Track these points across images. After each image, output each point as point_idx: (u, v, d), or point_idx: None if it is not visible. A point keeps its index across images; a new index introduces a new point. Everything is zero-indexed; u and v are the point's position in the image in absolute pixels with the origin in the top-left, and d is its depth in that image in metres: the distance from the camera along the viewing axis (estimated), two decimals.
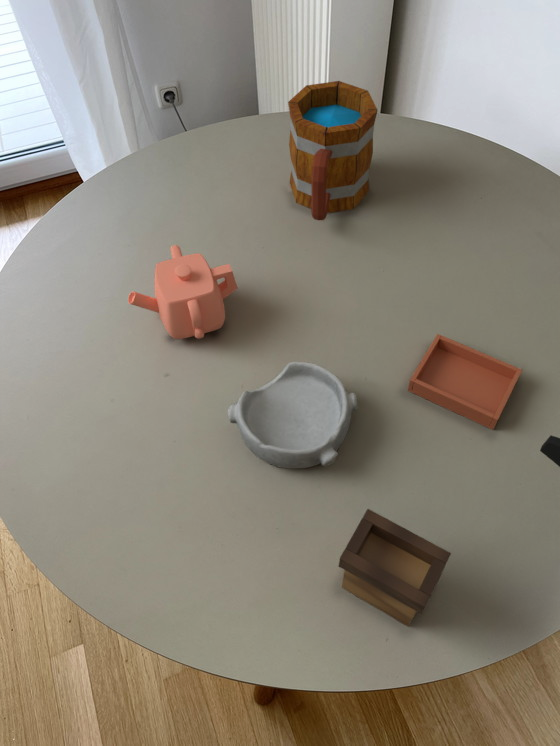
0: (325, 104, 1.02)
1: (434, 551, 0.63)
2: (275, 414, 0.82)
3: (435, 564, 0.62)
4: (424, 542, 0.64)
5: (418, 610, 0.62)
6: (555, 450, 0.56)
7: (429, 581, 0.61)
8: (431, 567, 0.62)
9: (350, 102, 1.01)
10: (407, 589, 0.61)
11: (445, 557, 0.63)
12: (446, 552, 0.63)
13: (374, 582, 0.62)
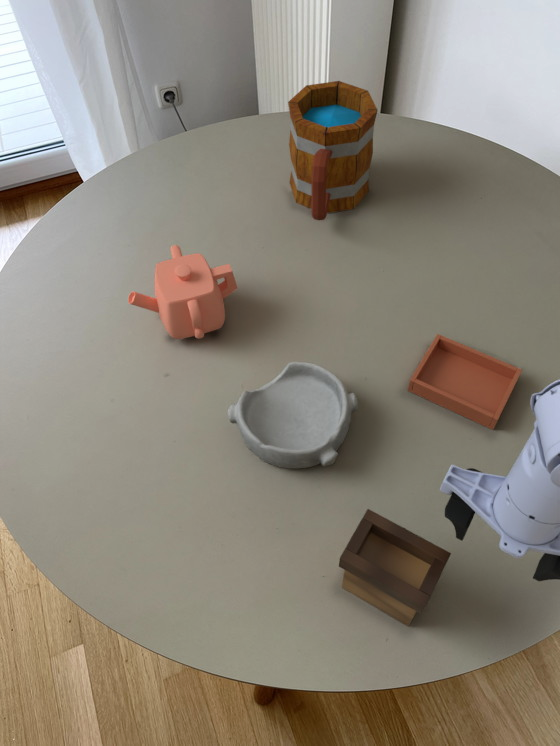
0: (325, 104, 1.02)
1: (434, 551, 0.63)
2: (275, 414, 0.82)
3: (435, 564, 0.62)
4: (424, 542, 0.64)
5: (418, 610, 0.62)
6: None
7: (429, 581, 0.61)
8: (431, 567, 0.62)
9: (350, 102, 1.01)
10: (407, 589, 0.61)
11: (445, 557, 0.63)
12: (446, 552, 0.63)
13: (374, 582, 0.62)
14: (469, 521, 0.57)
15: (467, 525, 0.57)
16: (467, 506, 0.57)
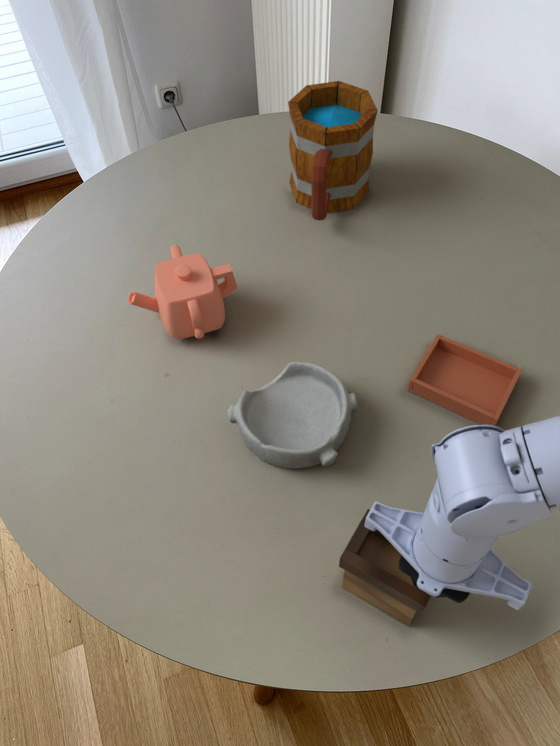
0: (325, 104, 1.02)
1: None
2: (275, 414, 0.82)
3: None
4: None
5: (418, 610, 0.62)
6: None
7: None
8: None
9: (350, 102, 1.01)
10: (407, 589, 0.61)
11: None
12: None
13: (374, 582, 0.62)
14: None
15: None
16: None
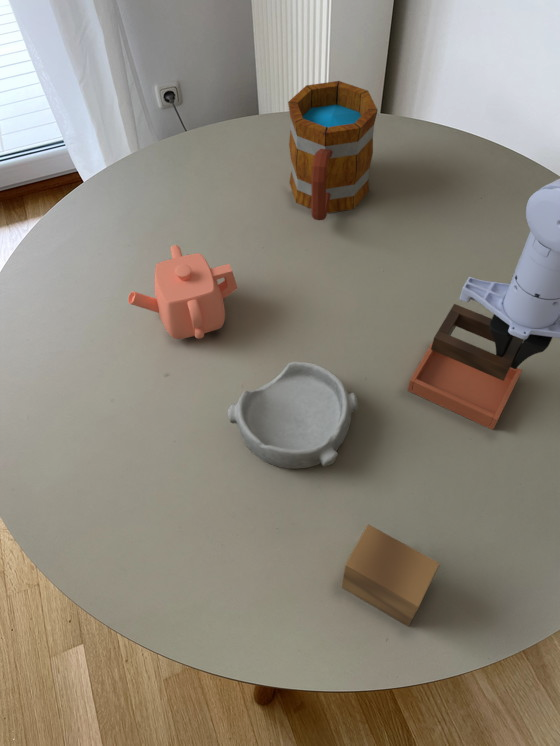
0: (325, 104, 1.02)
1: None
2: (275, 414, 0.82)
3: (514, 340, 0.75)
4: None
5: (501, 376, 0.74)
6: None
7: (510, 351, 0.74)
8: (511, 342, 0.75)
9: (350, 102, 1.01)
10: (492, 357, 0.73)
11: None
12: None
13: (463, 356, 0.75)
14: None
15: (508, 334, 0.69)
16: None
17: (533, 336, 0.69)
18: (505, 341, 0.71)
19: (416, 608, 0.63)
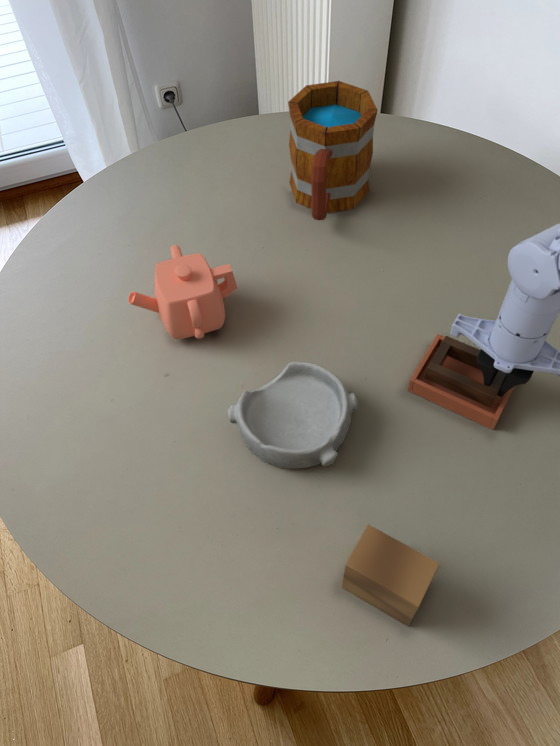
0: (325, 104, 1.02)
1: None
2: (275, 414, 0.82)
3: None
4: None
5: (488, 404, 0.81)
6: None
7: (497, 381, 0.80)
8: (498, 372, 0.81)
9: (350, 102, 1.01)
10: (480, 386, 0.80)
11: None
12: None
13: (454, 385, 0.82)
14: None
15: (494, 367, 0.76)
16: None
17: (517, 369, 0.75)
18: (491, 373, 0.78)
19: (416, 608, 0.63)
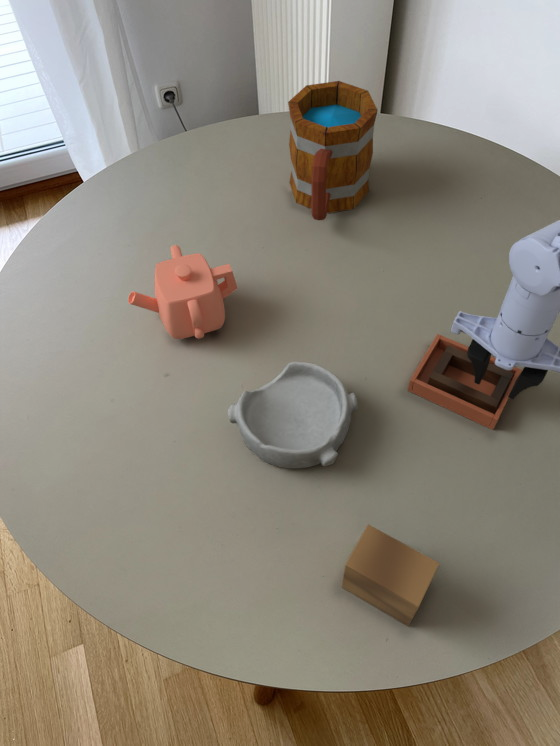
0: (325, 104, 1.02)
1: (500, 372, 0.83)
2: (275, 414, 0.82)
3: (502, 380, 0.83)
4: (492, 366, 0.84)
5: None
6: None
7: (498, 390, 0.82)
8: (499, 382, 0.82)
9: (350, 102, 1.01)
10: (482, 396, 0.81)
11: (509, 375, 0.83)
12: (510, 372, 0.83)
13: (456, 394, 0.83)
14: (486, 358, 0.76)
15: (484, 360, 0.76)
16: (484, 347, 0.77)
17: (529, 371, 0.74)
18: (482, 366, 0.78)
19: (416, 608, 0.63)
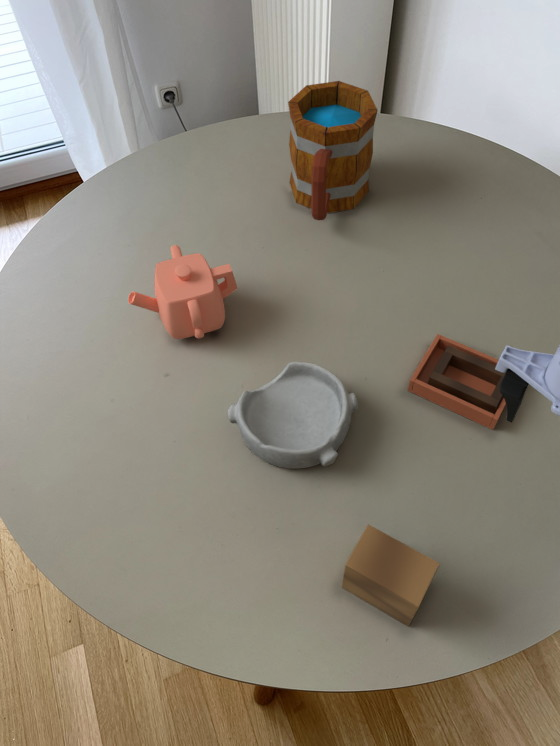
0: (325, 104, 1.02)
1: (500, 372, 0.83)
2: (275, 414, 0.82)
3: None
4: (492, 366, 0.84)
5: None
6: None
7: (498, 390, 0.82)
8: (499, 382, 0.82)
9: (350, 102, 1.01)
10: (482, 396, 0.81)
11: None
12: None
13: (456, 394, 0.83)
14: (522, 394, 0.65)
15: (520, 397, 0.64)
16: (520, 382, 0.65)
17: None
18: (517, 403, 0.66)
19: (416, 608, 0.63)
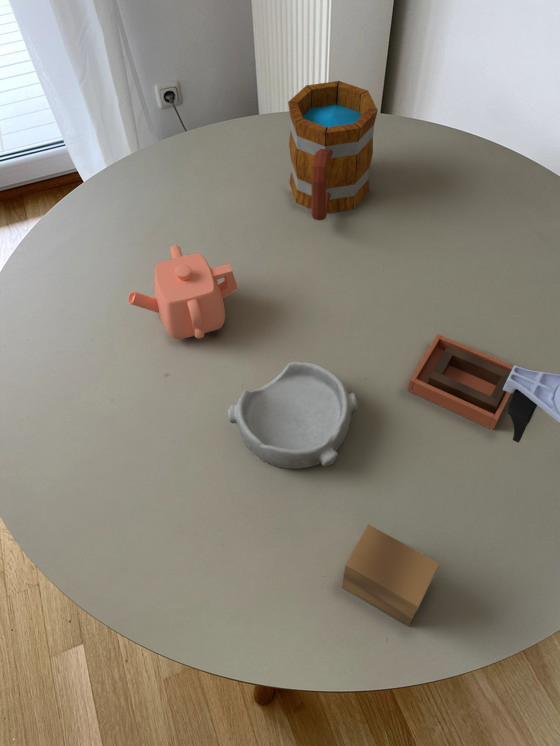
0: (325, 104, 1.02)
1: (500, 372, 0.83)
2: (275, 414, 0.82)
3: (502, 380, 0.83)
4: (492, 366, 0.84)
5: None
6: None
7: (498, 390, 0.82)
8: (499, 382, 0.82)
9: (350, 102, 1.01)
10: (482, 396, 0.81)
11: None
12: (510, 372, 0.83)
13: (456, 394, 0.83)
14: (530, 416, 0.63)
15: (529, 419, 0.63)
16: (528, 403, 0.63)
17: None
18: (525, 424, 0.64)
19: (416, 608, 0.63)
